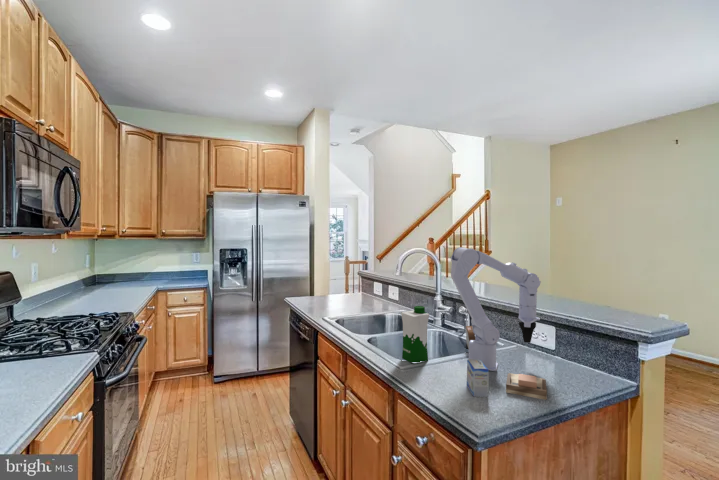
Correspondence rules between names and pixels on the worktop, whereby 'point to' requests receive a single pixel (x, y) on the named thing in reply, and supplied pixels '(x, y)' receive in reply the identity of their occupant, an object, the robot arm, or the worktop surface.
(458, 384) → the worktop surface
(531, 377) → the peach toy brick
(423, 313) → the milk carton
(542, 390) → the dock
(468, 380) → the medicine box
